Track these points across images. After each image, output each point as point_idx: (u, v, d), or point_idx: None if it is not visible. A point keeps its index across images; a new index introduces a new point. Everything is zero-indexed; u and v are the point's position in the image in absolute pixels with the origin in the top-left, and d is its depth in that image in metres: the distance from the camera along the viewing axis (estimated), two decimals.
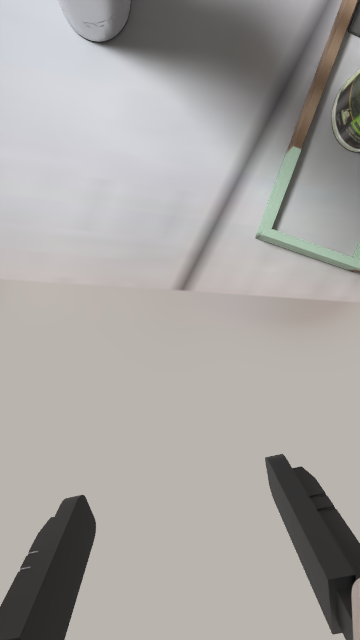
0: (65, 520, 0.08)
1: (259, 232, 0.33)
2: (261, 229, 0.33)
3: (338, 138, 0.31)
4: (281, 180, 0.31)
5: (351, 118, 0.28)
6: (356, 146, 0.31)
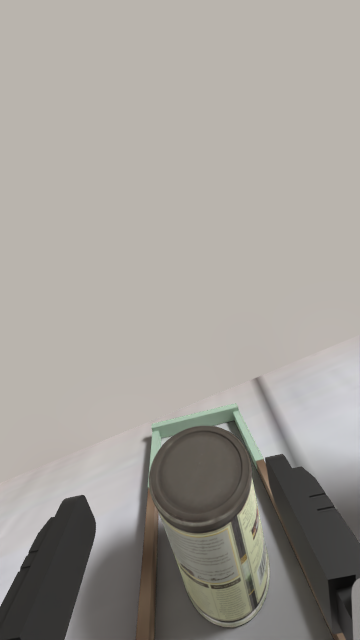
0: (65, 520, 0.08)
1: None
2: (238, 412, 0.44)
3: None
4: (251, 436, 0.37)
5: None
6: None
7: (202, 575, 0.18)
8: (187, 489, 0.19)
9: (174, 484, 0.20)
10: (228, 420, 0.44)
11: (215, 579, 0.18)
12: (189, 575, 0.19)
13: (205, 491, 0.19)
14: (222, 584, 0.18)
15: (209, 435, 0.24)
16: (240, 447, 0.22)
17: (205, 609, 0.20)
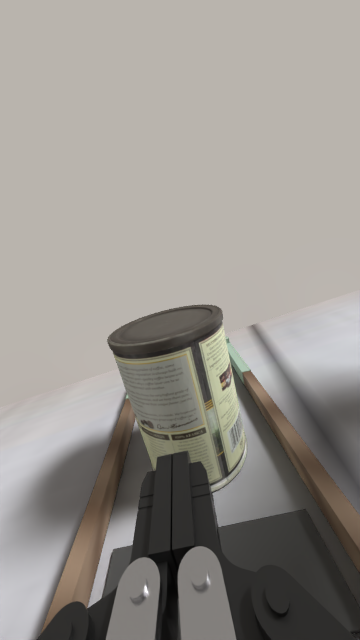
0: (167, 471, 0.09)
1: None
2: None
3: None
4: (240, 357, 0.34)
5: None
6: None
7: (162, 423, 0.16)
8: (148, 332, 0.17)
9: (134, 333, 0.18)
10: None
11: (175, 425, 0.16)
12: (149, 431, 0.17)
13: (167, 330, 0.16)
14: (184, 432, 0.16)
15: (182, 310, 0.22)
16: (213, 307, 0.19)
17: None
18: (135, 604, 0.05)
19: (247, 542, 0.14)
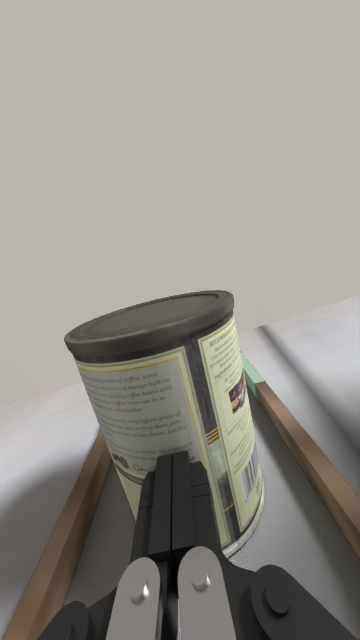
0: (167, 471, 0.09)
1: None
2: None
3: None
4: (250, 364, 0.28)
5: None
6: None
7: (139, 462, 0.10)
8: (123, 324, 0.11)
9: (105, 326, 0.12)
10: None
11: None
12: (123, 471, 0.11)
13: (150, 320, 0.11)
14: None
15: (178, 298, 0.17)
16: (220, 292, 0.14)
17: None
18: (135, 604, 0.05)
19: None
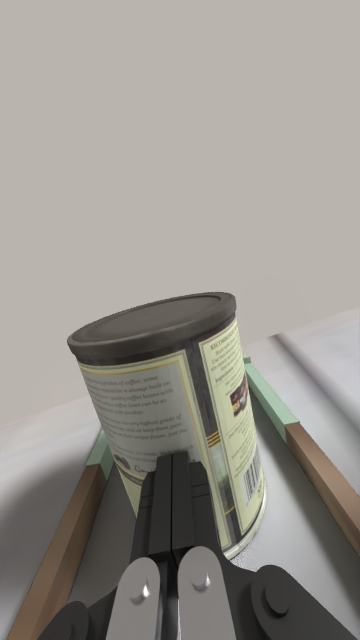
0: (167, 471, 0.09)
1: None
2: None
3: None
4: (273, 391, 0.22)
5: None
6: None
7: (141, 464, 0.10)
8: (125, 326, 0.12)
9: (108, 328, 0.12)
10: None
11: None
12: (125, 472, 0.12)
13: (152, 323, 0.11)
14: None
15: (181, 300, 0.17)
16: (222, 294, 0.14)
17: None
18: (135, 604, 0.05)
19: None
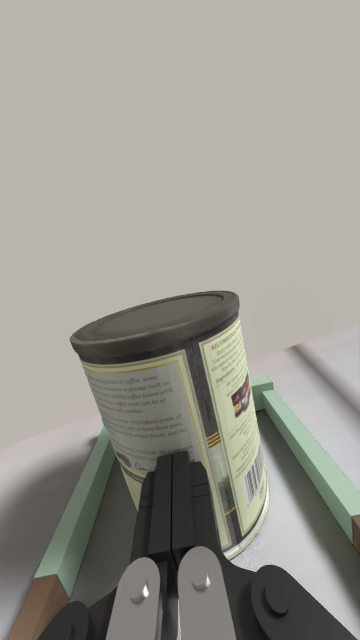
0: (167, 471, 0.09)
1: None
2: None
3: None
4: (316, 442, 0.15)
5: None
6: None
7: (141, 462, 0.11)
8: (126, 325, 0.12)
9: (110, 326, 0.12)
10: None
11: None
12: (126, 469, 0.12)
13: (153, 322, 0.11)
14: None
15: (184, 298, 0.16)
16: (226, 293, 0.14)
17: None
18: (135, 604, 0.05)
19: None
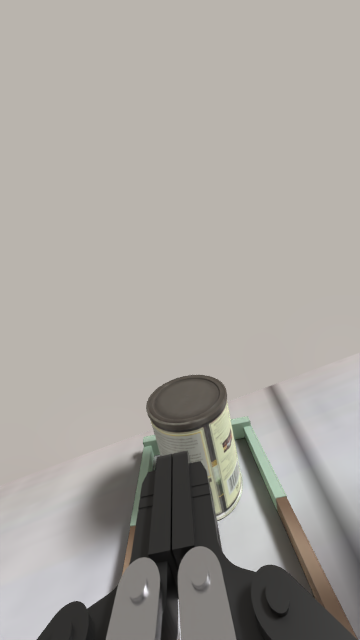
0: (167, 471, 0.09)
1: None
2: None
3: None
4: (268, 461, 0.28)
5: None
6: None
7: None
8: (174, 408, 0.25)
9: (165, 405, 0.26)
10: (238, 437, 0.36)
11: None
12: None
13: (187, 409, 0.24)
14: None
15: (198, 380, 0.30)
16: (221, 386, 0.27)
17: None
18: (135, 604, 0.05)
19: None
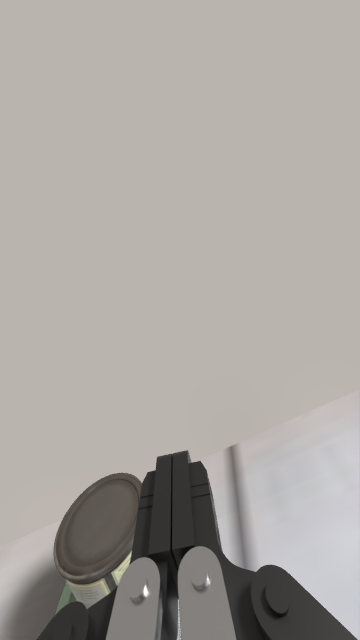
0: (167, 471, 0.09)
1: None
2: None
3: None
4: None
5: None
6: None
7: None
8: (83, 539, 0.22)
9: (76, 532, 0.23)
10: None
11: None
12: None
13: (95, 545, 0.22)
14: None
15: (125, 485, 0.27)
16: None
17: None
18: (135, 604, 0.05)
19: None
